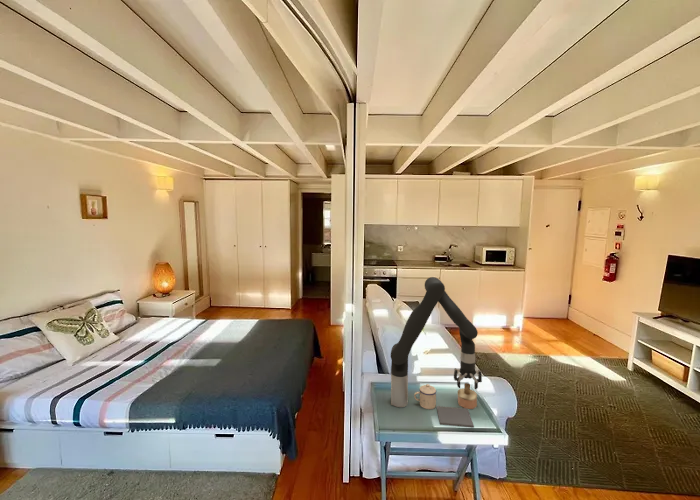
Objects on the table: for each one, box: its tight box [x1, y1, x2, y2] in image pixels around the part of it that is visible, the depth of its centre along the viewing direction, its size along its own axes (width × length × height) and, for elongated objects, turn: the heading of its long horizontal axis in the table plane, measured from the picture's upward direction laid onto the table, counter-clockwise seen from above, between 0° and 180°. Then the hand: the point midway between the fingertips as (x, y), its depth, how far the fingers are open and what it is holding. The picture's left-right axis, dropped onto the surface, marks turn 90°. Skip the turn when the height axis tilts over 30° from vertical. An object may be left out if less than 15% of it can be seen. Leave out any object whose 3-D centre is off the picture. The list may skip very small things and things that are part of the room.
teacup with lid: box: [413, 383, 437, 410], centre depth 169 cm, size 12×9×12 cm
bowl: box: [457, 395, 478, 410], centre depth 169 cm, size 9×9×5 cm
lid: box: [457, 382, 478, 401], centre depth 169 cm, size 10×10×6 cm
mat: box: [436, 405, 475, 428], centre depth 158 cm, size 16×14×1 cm
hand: (467, 388), depth 169 cm, fingers open, 8 cm apart
